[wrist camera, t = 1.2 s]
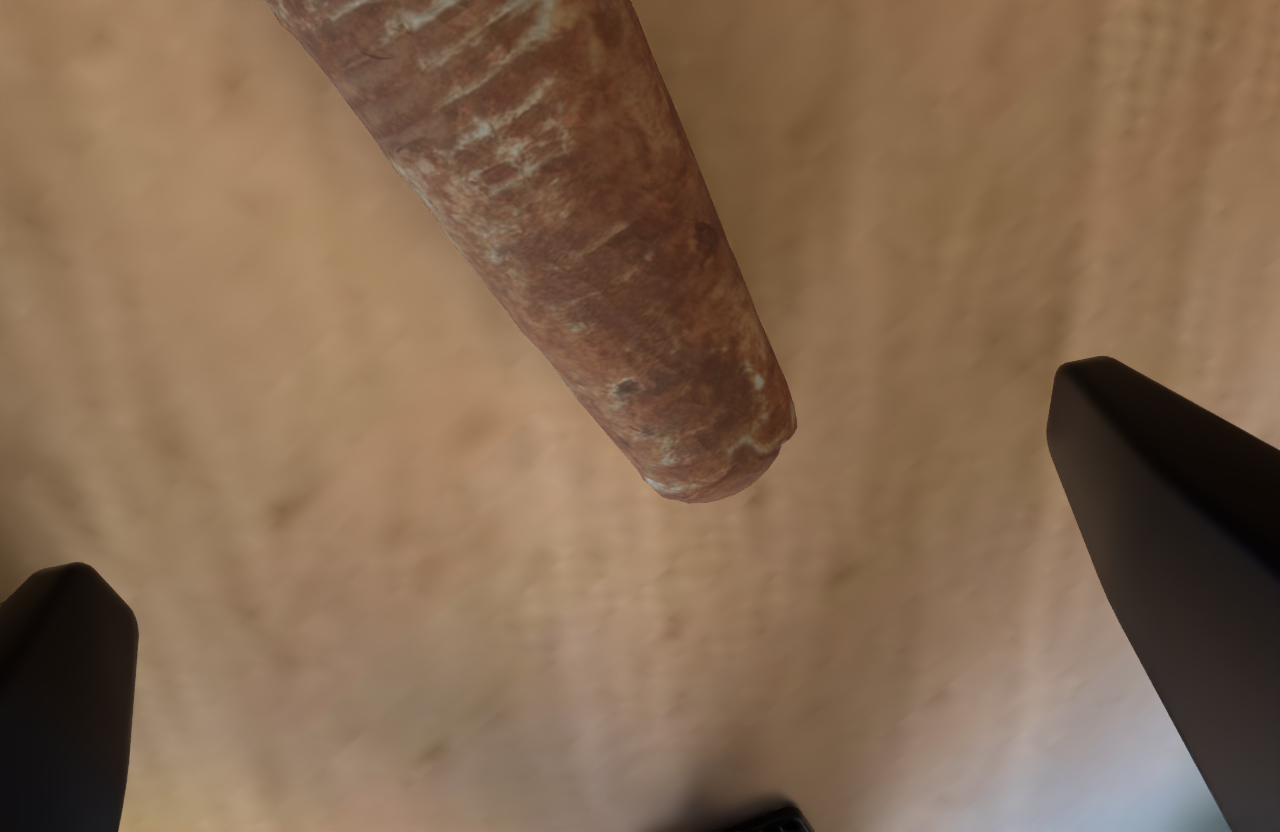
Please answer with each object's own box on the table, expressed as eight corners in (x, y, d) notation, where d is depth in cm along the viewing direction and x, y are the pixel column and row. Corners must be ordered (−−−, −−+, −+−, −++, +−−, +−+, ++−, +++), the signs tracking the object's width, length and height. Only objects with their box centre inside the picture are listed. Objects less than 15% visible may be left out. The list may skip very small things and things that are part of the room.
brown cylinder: (419, -506, 16) (355, -659, 11) (815, 395, 25) (874, 524, 20) (108, -305, 17) (-72, -366, 12) (597, 489, 26) (604, 634, 21)
